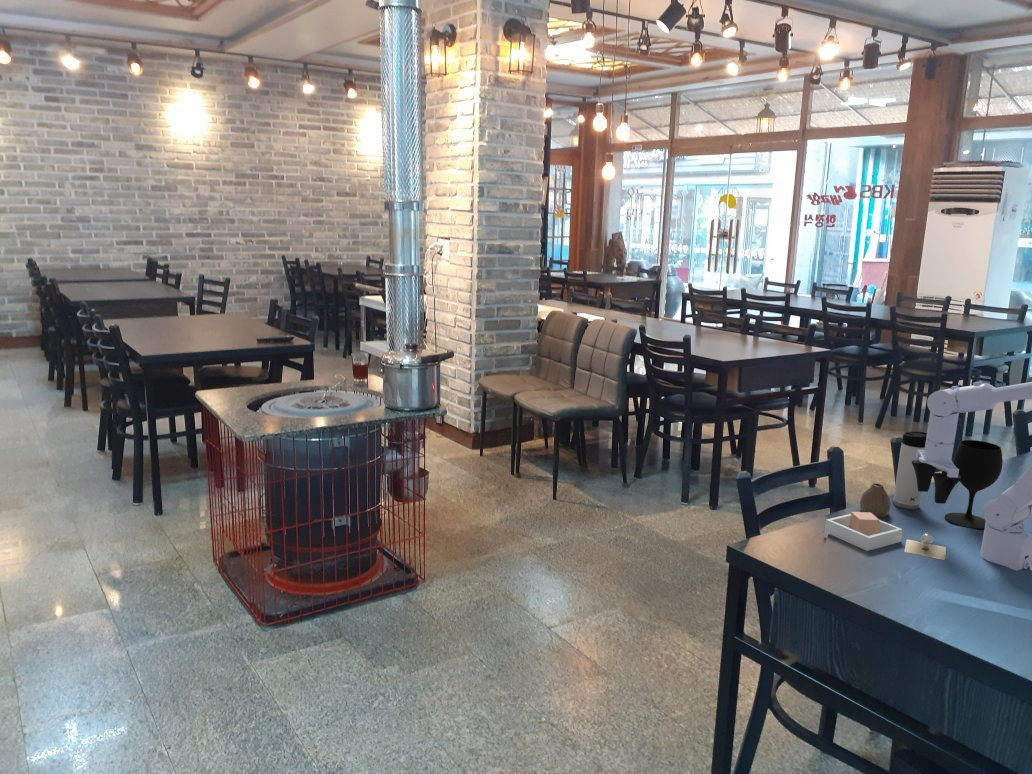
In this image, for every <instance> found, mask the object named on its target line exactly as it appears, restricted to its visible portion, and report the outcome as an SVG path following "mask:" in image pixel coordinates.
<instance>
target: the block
mask: <svg viewBox="0 0 1032 774" xmlns="http://www.w3.org/2000/svg"><path fill="white" fill-rule="evenodd" d="M850 514H851V519H850V526H849V528H851V529H853V530H855V531H858V532H860V533H862V534H865V535H867V536H871V535H875V534H877V533H878V526H879V520H880V519H879V517H875V516H874V515H873V514H872V513H871V512H861V511H851V512H850Z"/></svg>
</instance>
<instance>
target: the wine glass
mask: <svg viewBox="0 0 1032 774" xmlns="http://www.w3.org/2000/svg"><path fill="white" fill-rule="evenodd" d="M1003 459H1004V458H1003V451H1002V448H1001V446H1000V445H998V444H995V443H991V442H988V441H983V440H974V439H964V440H961V441H960V442H959V444H958V445H957V448H956V450H955V453H954V455H953V460H952V462H953V463H954V465H955V467H956V468H957V469H959V473H958V476H960V477H961V480H960V481H959V483H960V484H961V485H962V486H963V487H964V488H965V489H966V490H967V491H968V503H967V508H966V512H965V513H964V512H948V513H946V514H944V516H943V518H944V520H945V521H946V522H948V523H949V524H952V525H953V526H956V527H961V528H967V529H971V530H977V531H984V529H985V523H986V521H985V519H984V517H982V516H979V515H974V514H973V506H974V505H973V504H974V502H975V501H974V500H975V496H976V494H977V493H978V492H980V491H982V490H985V489H987V488H988V487H990V486H992V485H993V484H994V483H996V481H997V480H998V479H999V477H1000V475H1001V473H1002V468H1003Z"/></svg>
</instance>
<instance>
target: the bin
mask: <svg viewBox="0 0 1032 774" xmlns="http://www.w3.org/2000/svg"><path fill="white" fill-rule="evenodd" d="M850 519H851V513H848V514H844V515H841V516H840V515H839V516H836V517H831V518H827V519H825V526H824V532H823V533H824V534H823V538H824V539H828V537H829V535H830V536H833V537H836V538H837V539H840V540H842V541H844V542H846V543H849V544H850V545H852V546H855V547H858V548H859V549H862V550H865V551H867V552H869V551H873V550H877V549H880V548H883V547H887V546H891V545H895V544H898V543H901V542H902V538H903V529H902V528H901V527H898V526H895V525H894V524H890V523H889V522H885V521H883V520H881V519H879V526H878V533H877V534H875V535H871V536H867V535H865V534H862V533H860V532H858V531H855V530H853V529H851V528H849V526H850Z"/></svg>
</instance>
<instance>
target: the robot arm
mask: <svg viewBox="0 0 1032 774" xmlns="http://www.w3.org/2000/svg"><path fill="white" fill-rule="evenodd" d="M1031 399H1032V381H1029V382H1023V383H1018V384H1010V385H1006V386H1005V385H1004V386H1000V387H995V386H993V384H991V383H987V382H985V383H983V381H982V380H981V381H975V382H973V385H968V386H966V385H965V386H961V387H960V386H959V385H953V386H951V388H945V389H939V390H936V391H934V392H932V393H931V394H930V395H929V396H928V398H927V402H926V406H927V408H928V410H929V418H928V419H929V420H928V425H927V431H926V433H927V437H926V444H925V450H917V453H916V458H918V460H913V461H912V465H913V467H914V470H915V473H916V479H917V487H918V491H921V492H922V493H923V492H926V493H927V492H929V490H930V487H931V484H932V479H933V481H934V503H935V504H946V503H947V500H948V499H949V497H950V495H951V493H952V491H953V489H954V488H955V487H956V486H957V484H958V483H960V480H961V477H960V476H958V473H959V469H957V468H956V467H955V465H954V463H953V460H952V459H953V453H954V447H955V440H956V436H957V435H956V433H957V429H958V427H957V426H958V421H959V415H960V413H961V414H964V413H973V412H978V411H979V412H980V411H987V410H988V411H989V410H994V408H995V407H996V406H997V404H998V403H1002V402H1003V403H1005V402H1012V401H1021V400H1031ZM936 469H938V470H939V471H941V472H936ZM1031 514H1032V464H1031V465H1030V466H1029V467H1028V468H1027V469H1026V470H1025V471H1024V473H1023V474H1022V475H1020V477H1019V478H1018V479H1017V480H1015V482H1014V484H1012V485H1011V486H1010V487H1009V488H1007V489H1006V490H1005V491H1003V492H1002V493H1001V494H1000V495H999V496H998V498H994V499H992V500H988V501H987V502H986V503H985V504H984V506H983V508H982V518H983V519H985V521H986V523H985V529H984V530H983V535H982V540H981V541H982V542H981V547H980V552H979V555H980V556H981V558H983V559H984V560H985V561H988V562H990V563H994V564H996V565H997V564H998V565H1001V566H1003V567H1006V568H1008V569H1011V570H1012V571H1013V570H1014V571H1020V570H1021V571H1022V570H1023V569H1025V570H1027V569H1028V568H1029V569H1030V572H1032V534H1030V533H1028V532H1026V530H1025V523H1024V522H1025V520H1027V519H1029V518H1030V516H1031Z"/></svg>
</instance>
